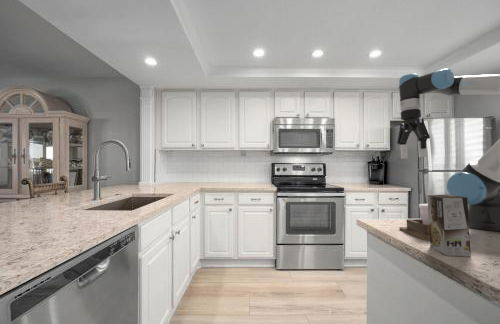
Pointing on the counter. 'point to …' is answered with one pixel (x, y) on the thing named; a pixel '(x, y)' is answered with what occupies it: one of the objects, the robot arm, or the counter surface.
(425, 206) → the smoothie
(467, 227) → the coffee box
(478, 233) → the counter surface
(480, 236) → the counter surface
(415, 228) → the caddy
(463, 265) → the counter surface
